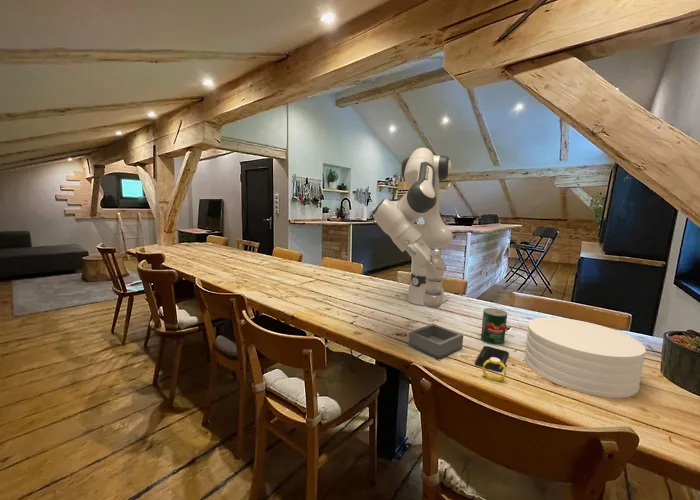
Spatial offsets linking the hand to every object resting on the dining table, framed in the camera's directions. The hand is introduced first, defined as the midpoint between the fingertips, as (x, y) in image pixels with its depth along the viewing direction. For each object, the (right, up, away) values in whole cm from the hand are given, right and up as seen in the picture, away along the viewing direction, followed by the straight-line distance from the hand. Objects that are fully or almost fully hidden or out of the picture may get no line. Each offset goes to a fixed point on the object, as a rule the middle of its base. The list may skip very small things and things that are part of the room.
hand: (436, 270), depth 105 cm
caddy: (0, -26, +3) cm, 27 cm away
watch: (+12, -30, -16) cm, 36 cm away
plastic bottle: (-1, -13, +2) cm, 13 cm away
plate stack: (+40, -30, -9) cm, 51 cm away
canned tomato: (+23, -26, +10) cm, 36 cm away
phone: (+16, -29, -4) cm, 33 cm away
